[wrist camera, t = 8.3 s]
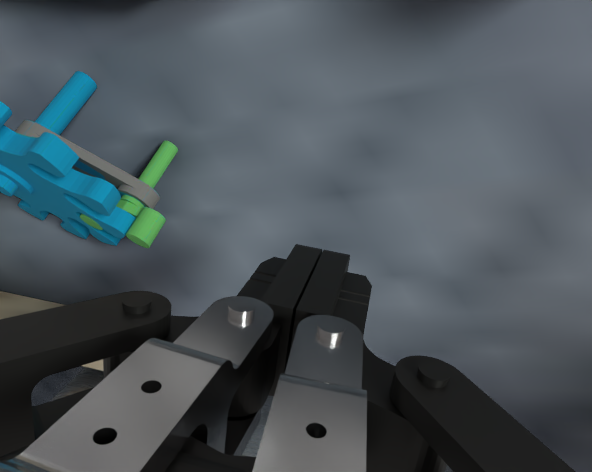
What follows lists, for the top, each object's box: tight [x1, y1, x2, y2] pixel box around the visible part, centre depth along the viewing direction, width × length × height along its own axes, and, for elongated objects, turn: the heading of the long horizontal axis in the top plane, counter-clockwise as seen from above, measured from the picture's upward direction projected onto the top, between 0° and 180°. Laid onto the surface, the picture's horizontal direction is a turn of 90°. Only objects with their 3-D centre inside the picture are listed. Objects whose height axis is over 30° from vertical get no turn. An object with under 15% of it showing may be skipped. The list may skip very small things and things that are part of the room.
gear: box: [0, 71, 178, 248], centre depth 20 cm, size 11×6×10 cm
